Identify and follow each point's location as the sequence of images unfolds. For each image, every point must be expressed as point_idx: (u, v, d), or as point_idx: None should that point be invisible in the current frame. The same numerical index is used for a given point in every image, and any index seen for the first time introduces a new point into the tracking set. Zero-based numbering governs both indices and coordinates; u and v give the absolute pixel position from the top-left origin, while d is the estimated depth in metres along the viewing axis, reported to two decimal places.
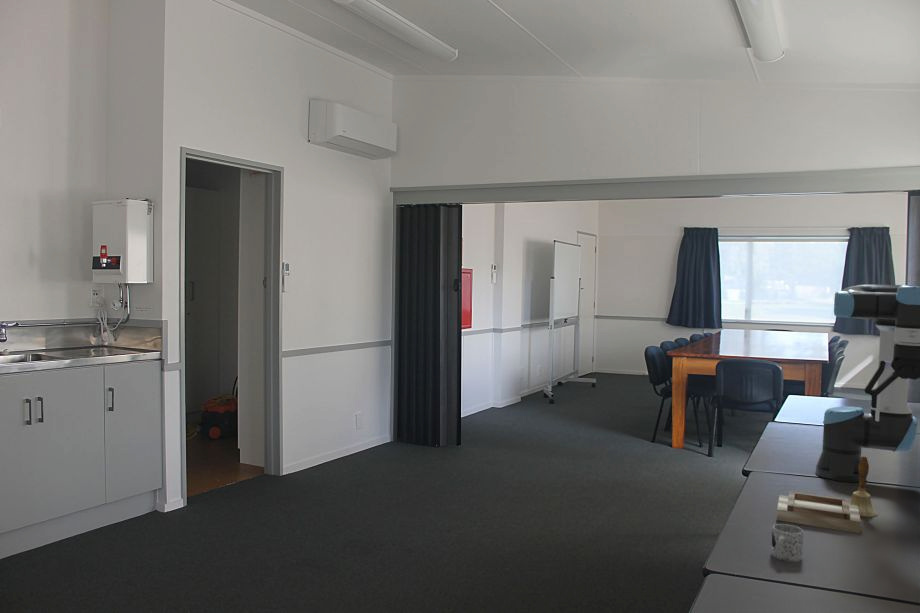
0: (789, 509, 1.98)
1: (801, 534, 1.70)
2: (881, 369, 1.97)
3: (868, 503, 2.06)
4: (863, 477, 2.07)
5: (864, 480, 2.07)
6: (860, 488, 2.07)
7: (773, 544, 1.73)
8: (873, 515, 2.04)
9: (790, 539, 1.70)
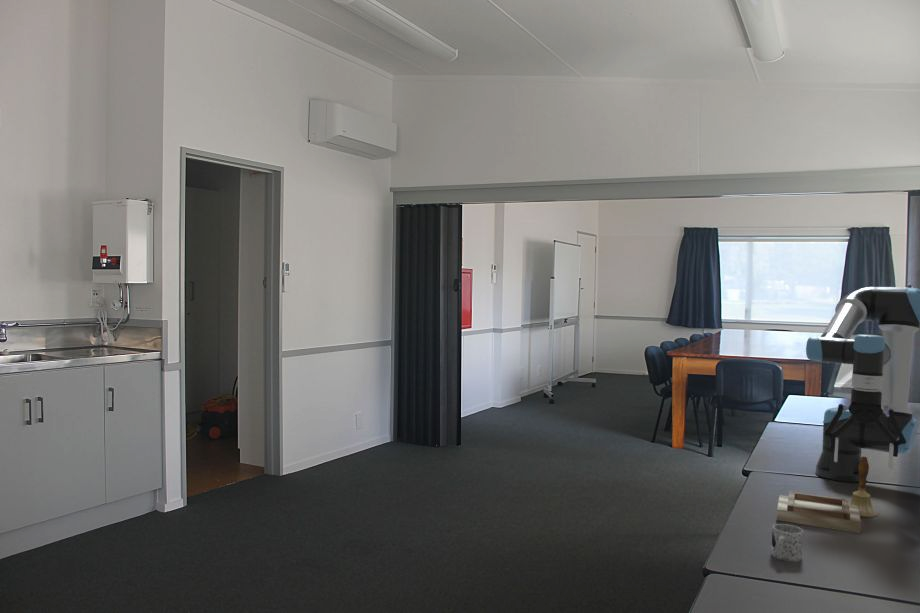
0: (789, 509, 1.98)
1: (801, 534, 1.70)
2: (839, 413, 2.09)
3: (868, 503, 2.06)
4: (863, 477, 2.07)
5: (864, 480, 2.07)
6: (860, 488, 2.07)
7: (773, 544, 1.73)
8: (873, 515, 2.04)
9: (790, 539, 1.70)
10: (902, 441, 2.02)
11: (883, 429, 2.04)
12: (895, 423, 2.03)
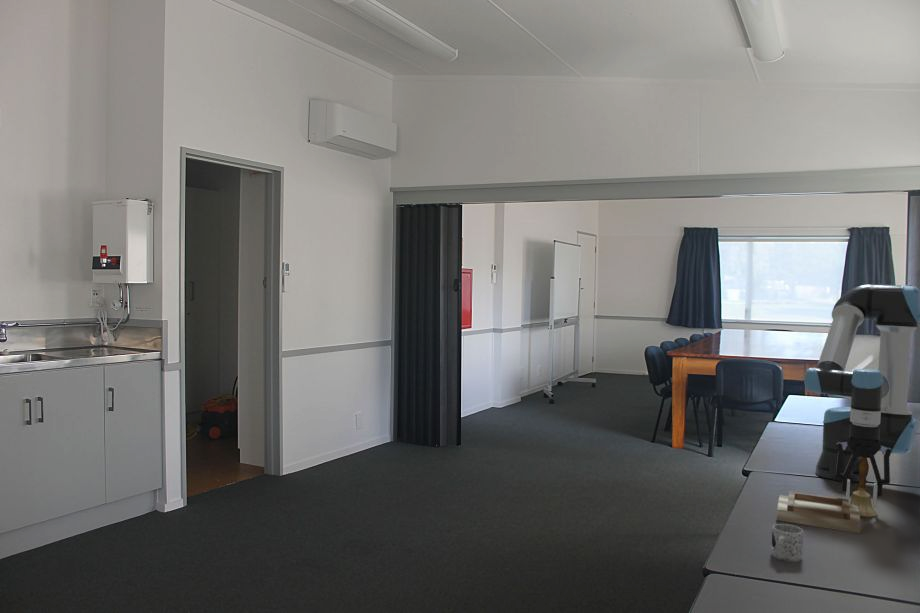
0: (789, 509, 1.98)
1: (801, 534, 1.70)
2: (841, 452, 2.09)
3: (868, 502, 2.06)
4: (863, 477, 2.07)
5: (864, 480, 2.07)
6: (860, 488, 2.07)
7: (773, 544, 1.73)
8: (873, 515, 2.04)
9: (790, 539, 1.70)
10: (886, 481, 2.04)
11: (874, 466, 2.05)
12: (887, 462, 2.04)
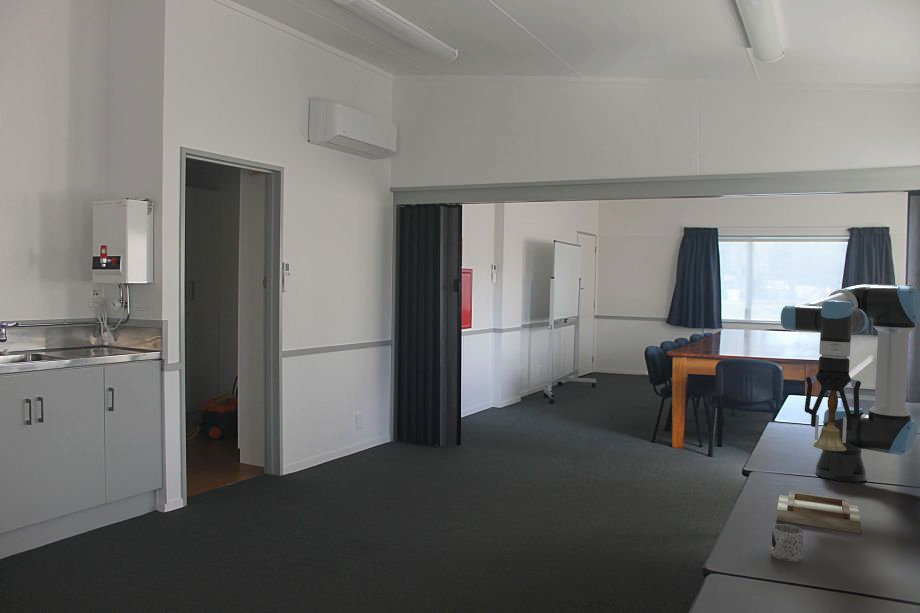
0: (789, 509, 1.98)
1: (801, 534, 1.70)
2: (810, 386, 2.03)
3: (837, 437, 1.99)
4: (832, 411, 2.01)
5: (833, 414, 2.01)
6: (829, 422, 2.01)
7: (773, 544, 1.73)
8: (842, 449, 1.98)
9: (790, 539, 1.70)
10: (855, 414, 1.98)
11: (843, 400, 1.99)
12: (857, 395, 1.98)
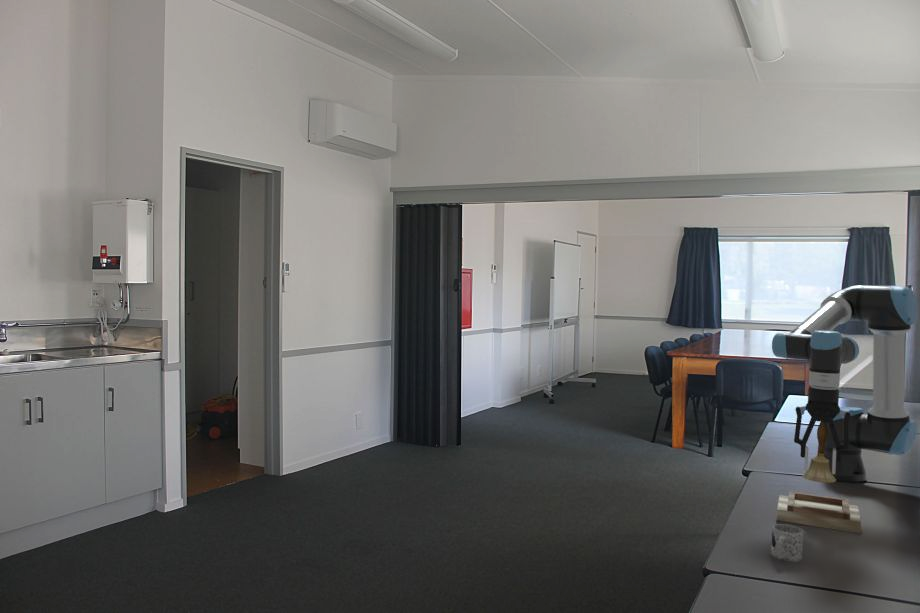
0: (789, 509, 1.98)
1: (801, 534, 1.70)
2: (799, 416, 2.02)
3: (826, 468, 1.99)
4: (822, 442, 2.00)
5: (823, 445, 2.00)
6: (819, 453, 2.00)
7: (773, 544, 1.73)
8: (831, 481, 1.97)
9: (790, 539, 1.70)
10: (845, 445, 1.97)
11: (832, 431, 1.98)
12: (846, 426, 1.97)
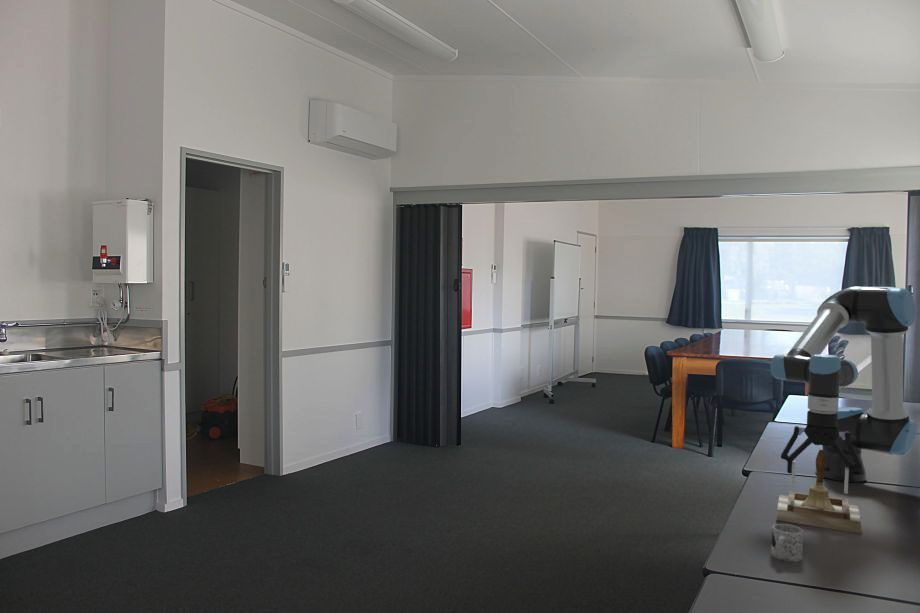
0: (789, 509, 1.98)
1: (801, 534, 1.70)
2: (795, 436, 2.02)
3: (825, 497, 1.99)
4: (820, 471, 2.00)
5: (821, 474, 2.00)
6: (817, 482, 2.01)
7: (773, 544, 1.73)
8: None
9: (790, 539, 1.70)
10: (857, 465, 1.96)
11: (838, 452, 1.98)
12: (851, 447, 1.97)
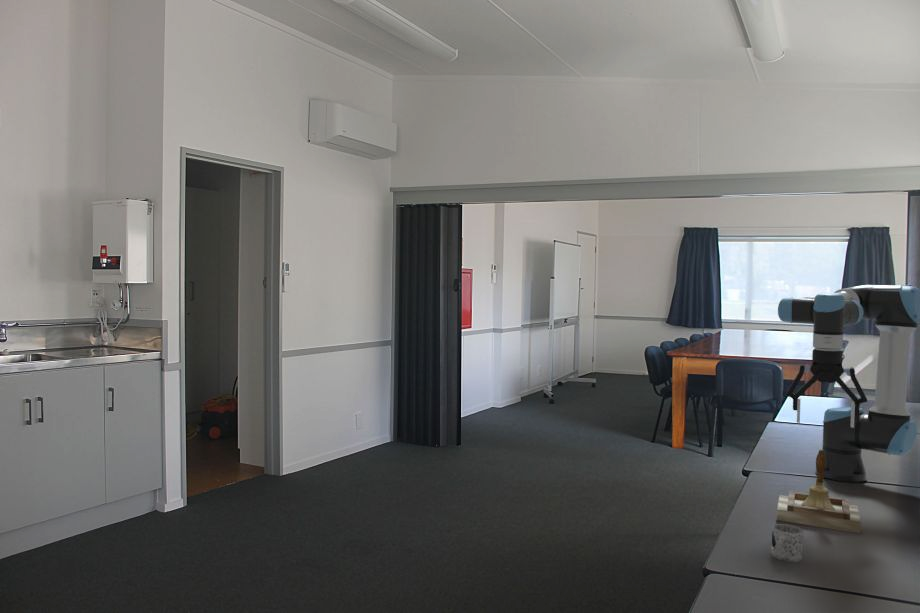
0: (789, 509, 1.98)
1: (801, 534, 1.70)
2: (801, 374, 2.07)
3: (825, 497, 1.99)
4: (820, 471, 2.00)
5: (821, 474, 2.00)
6: (817, 482, 2.01)
7: (773, 544, 1.73)
8: None
9: (790, 539, 1.70)
10: (863, 399, 2.01)
11: (844, 388, 2.02)
12: (856, 382, 2.01)
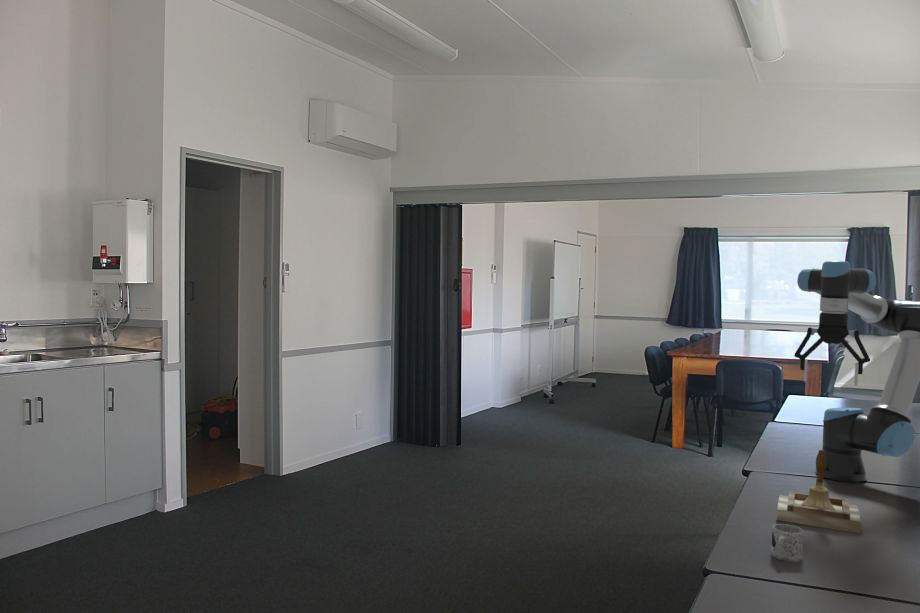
0: (789, 509, 1.98)
1: (801, 534, 1.70)
2: (808, 335, 2.22)
3: (825, 497, 1.99)
4: (820, 471, 2.00)
5: (821, 474, 2.00)
6: (817, 482, 2.01)
7: (773, 544, 1.73)
8: None
9: (790, 539, 1.70)
10: (866, 359, 2.15)
11: (849, 349, 2.17)
12: (860, 343, 2.16)
